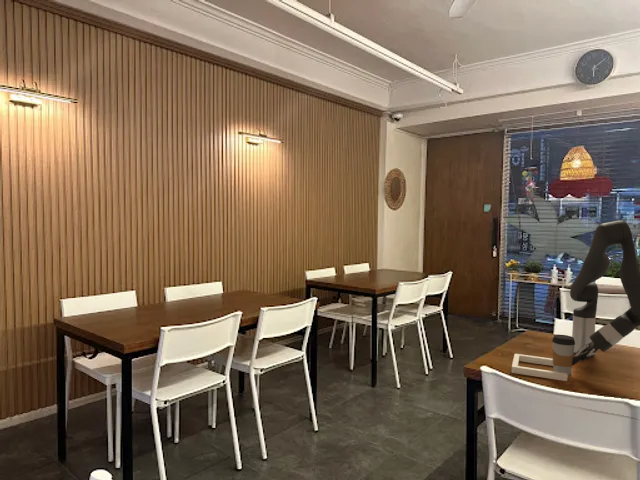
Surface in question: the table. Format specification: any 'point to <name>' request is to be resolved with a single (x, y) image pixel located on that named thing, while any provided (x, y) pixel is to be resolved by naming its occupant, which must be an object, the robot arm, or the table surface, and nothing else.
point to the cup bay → (536, 372)
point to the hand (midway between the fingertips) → (569, 363)
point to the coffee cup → (563, 353)
